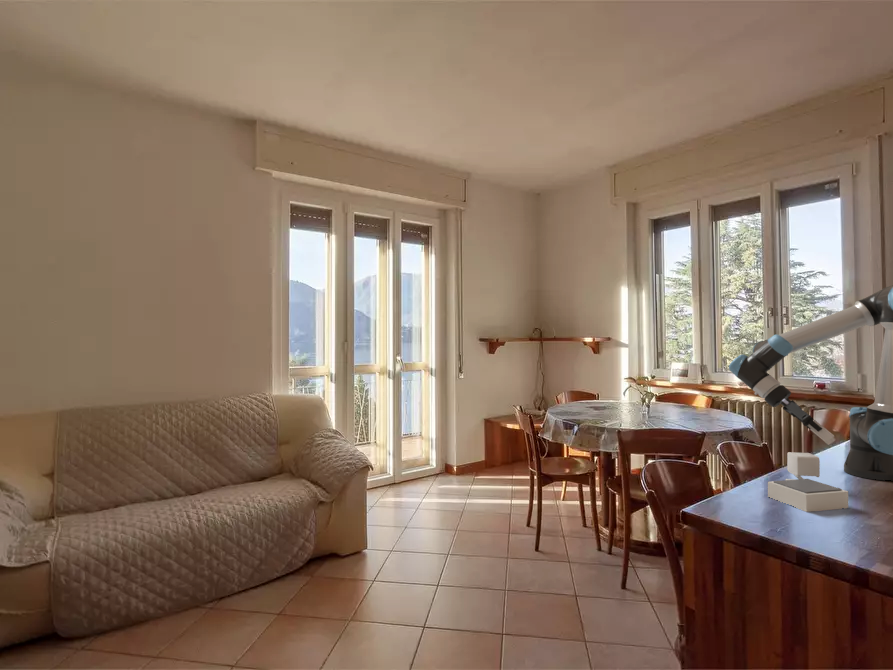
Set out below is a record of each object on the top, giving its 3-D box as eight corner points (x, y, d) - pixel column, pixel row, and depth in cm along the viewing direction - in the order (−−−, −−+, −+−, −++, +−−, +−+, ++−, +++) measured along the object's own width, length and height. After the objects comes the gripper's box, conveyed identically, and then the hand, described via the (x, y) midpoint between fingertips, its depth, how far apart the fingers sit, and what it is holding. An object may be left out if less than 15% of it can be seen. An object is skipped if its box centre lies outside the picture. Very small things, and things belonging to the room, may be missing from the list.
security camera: (820, 489, 147) (819, 457, 147) (794, 488, 148) (794, 456, 148) (808, 483, 153) (808, 452, 153) (784, 482, 154) (784, 451, 154)
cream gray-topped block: (807, 494, 142) (807, 477, 142) (848, 508, 131) (848, 489, 131) (767, 497, 140) (767, 480, 140) (806, 511, 128) (806, 493, 128)
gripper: (768, 404, 172) (823, 450, 159) (757, 393, 153) (819, 445, 140) (785, 390, 169) (842, 436, 156) (777, 377, 151) (841, 429, 138)
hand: (831, 440), depth 148 cm, fingers open, 13 cm apart
